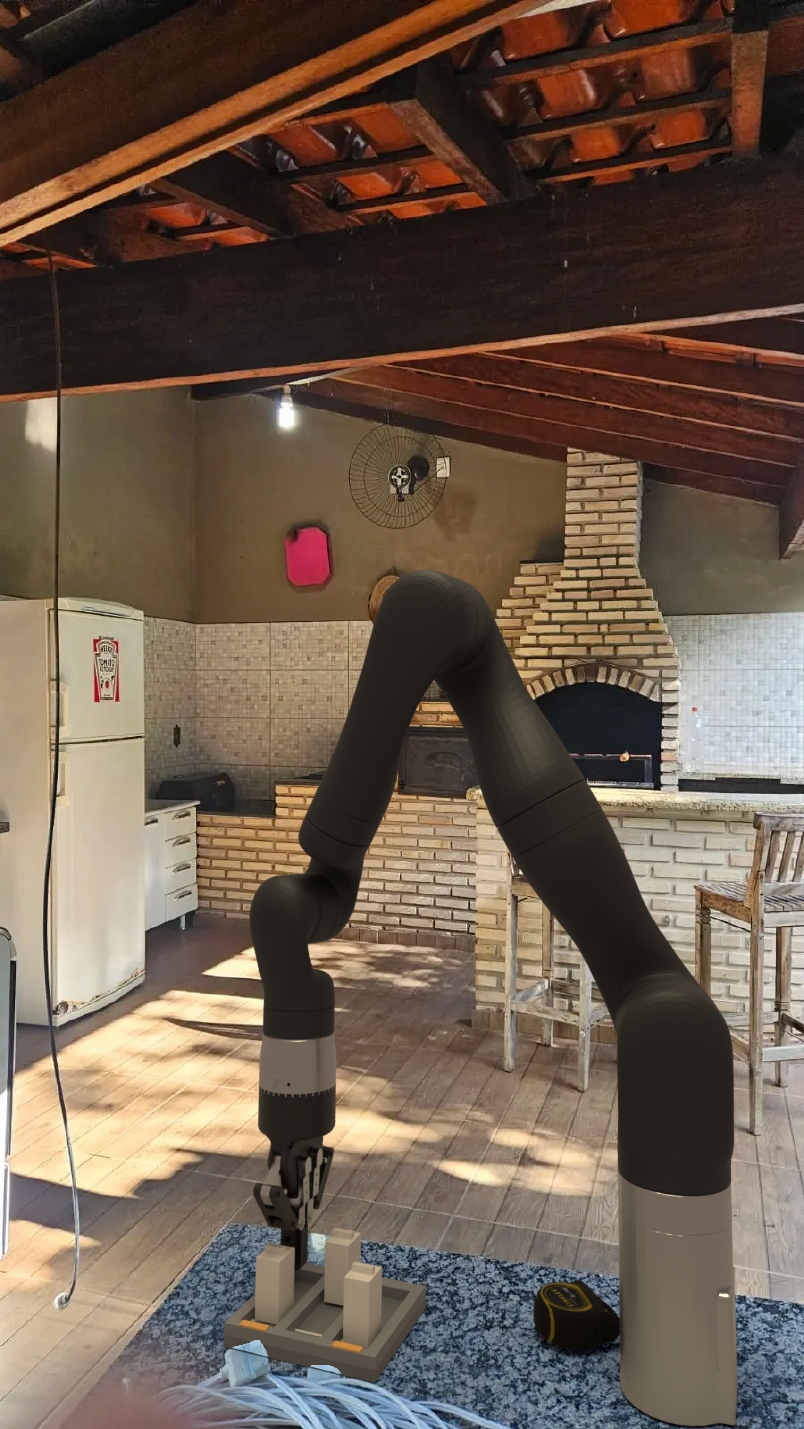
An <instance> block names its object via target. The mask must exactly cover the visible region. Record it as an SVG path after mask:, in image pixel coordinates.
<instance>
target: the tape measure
mask: <svg viewBox="0 0 804 1429" xmlns="http://www.w3.org/2000/svg"><path fill="white" fill-rule="evenodd" d="M535 1296H536V1297H535V1298H534V1300H533V1311H532V1314H533V1315H532V1316H533V1322H534V1325H535V1328H536V1331H537V1332H538V1334H539V1335H540V1336H541V1337H542V1338H543V1339H544V1340H546V1341H547V1342H548V1343H550V1344H551V1345H553V1346H555V1347H557V1348H561V1349H564V1350H568V1351H578V1352H580V1351H590V1350H592V1349H595V1348H598V1347H600V1346H602V1345H606V1344H609V1343H613V1342H615V1341H616V1340H617V1339H618V1338H620V1324H619V1314H617V1313H616V1311H615V1309H613V1308H612V1307H611V1306H610V1305H609V1304H608V1303H607V1302H605V1301H604V1300H603V1299H602V1298H601V1297H600V1296H599V1295H597V1294H596V1293H595V1292H594V1291H593V1290H592V1289H591V1288H590V1287H589V1286H588V1285H587V1283H586V1282H584V1281H583V1280H581V1279H577V1280H572V1281H570V1282H565V1281H564V1282H563V1281H557V1282H556V1281H555V1282H550V1283H547V1284H545V1285H544V1286H542V1287H541V1288H540V1289H538V1291H537V1293H536V1295H535Z"/></svg>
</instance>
